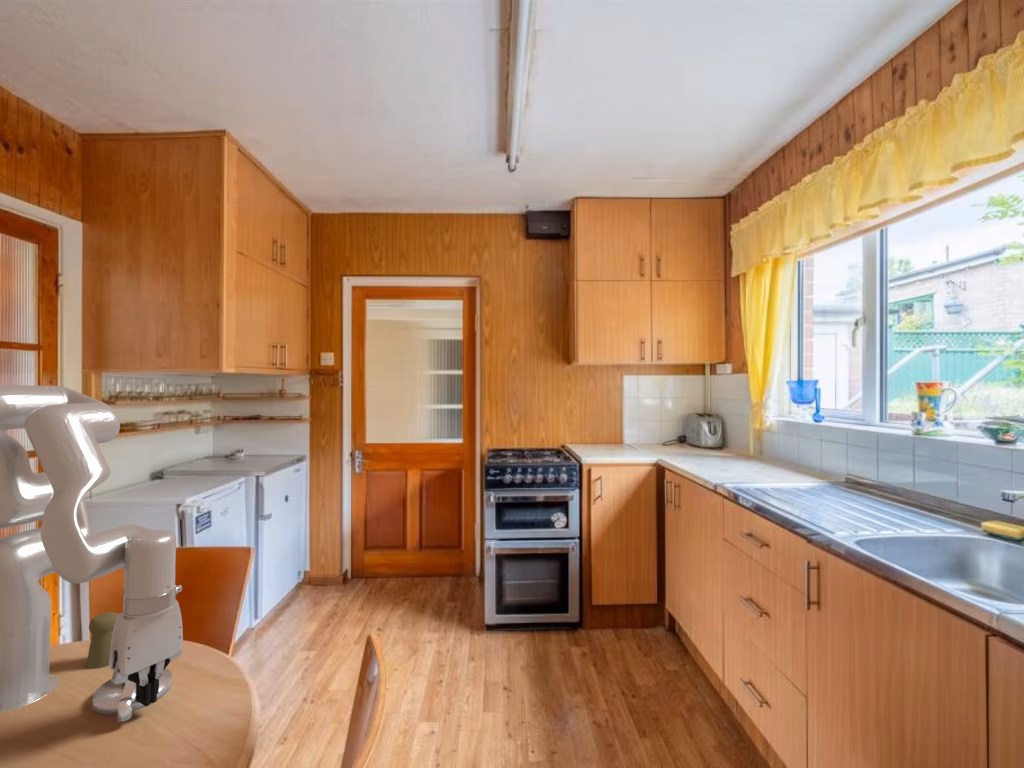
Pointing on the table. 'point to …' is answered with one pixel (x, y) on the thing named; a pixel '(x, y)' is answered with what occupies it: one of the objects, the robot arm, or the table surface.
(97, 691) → the dial
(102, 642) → the olive pepper mill
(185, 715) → the table surface
